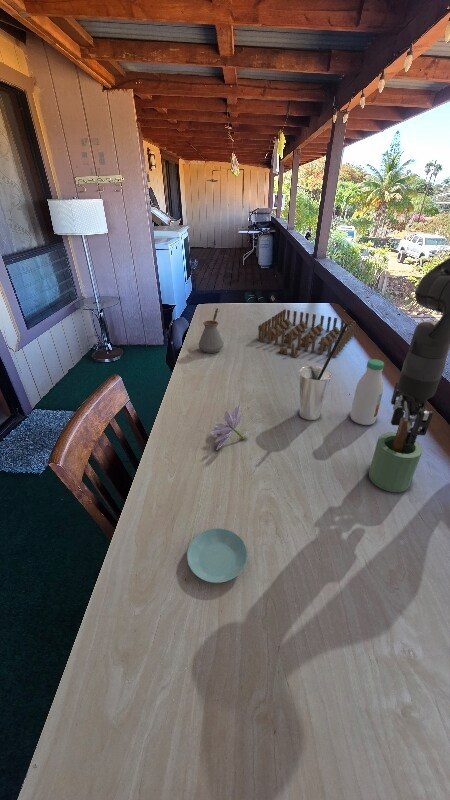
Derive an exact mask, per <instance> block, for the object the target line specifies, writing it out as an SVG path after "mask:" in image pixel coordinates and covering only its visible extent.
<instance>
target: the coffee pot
mask: <svg viewBox="0 0 450 800" xmlns="http://www.w3.org/2000/svg"><path fill="white" fill-rule="evenodd" d="M214 310H215V311H214V315H213V318H212V320H206V321H204V322H203V323H202V324H203V326H204V329H203V331H202V334H201V337H200V338H199V341H198V348H199V349H200V350H201V351H202V352H204V353H206V354H215V353H216V354H217V353H218V352H220V351H221V350H222V348H223V347H224V345H225V344H224V341H223V339H222V337H221V334H220V332H219V330H218V325H219V322H218V321H216V319H217V316H218V313H219V312H220V311H221V309H220V308H218V307H217V308H215V309H214Z"/></svg>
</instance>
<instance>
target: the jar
mask: <svg viewBox="0 0 450 800" xmlns="http://www.w3.org/2000/svg"><path fill="white" fill-rule="evenodd" d="M396 433H397V432H391V431H390V432H388V431H387V432H385V433H382V434H380V435H379V436H378V438H377V442H376V444H375V445H376V446H375V449H374V452H373V456H372V460H371V463H370V466H369V470H368V477H369V479H370V481H371V482H372V483H373V484H374V485H375V486H377V487H378V488H379V489H381V490H384V491H387V492H390V493H402V492H405V491H406V490H408V489H409V488H410V485H411V483H412V480H413V477H414V476H415V472H416V470H417V468H418V465H419V462H420V459H421V456H422V454H423V447H422V445H421V444H420V442H418V441H417V440H416V441H415V444H414V445H412V446H410V445H404V443H403V446H402V449H401V452H400V453H398V452H395V451H393V450H391V449H392V445H393V442H394V439H395V436H396Z"/></svg>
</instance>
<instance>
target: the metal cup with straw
mask: <svg viewBox="0 0 450 800" xmlns="http://www.w3.org/2000/svg"><path fill="white" fill-rule="evenodd" d="M348 324H349V323H346V322H344V326H343V329H342V331H341V333H340V334H338V337H337V338H336V340H337V341H336V343H335V342H334V344H335V345H334V344H333V346H332V348H331V353H330V355H329V356H327V358H326V361H325V362H324V364H323V366H319V365H305V366H302V367H300V368H299V369H298V375H299V416H300V417H301V418H302V419H304V420H308V421H315V420H318V419H320V414H321V412H322V408H323V404H324V401H325V398H326V394H327V391H328V387H329V384H330V381H331V379H332V378H333V372H332V371H331V370H330V369H328V368H327V367H328V365H329V363H330V362H331V359H332V358H333V353H334V351H335V349H336V347H337V346H338V344H339V342H340V340H341V338H342V336H343V334H344V332H345V330H347V327H348Z"/></svg>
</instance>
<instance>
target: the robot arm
mask: <svg viewBox="0 0 450 800" xmlns="http://www.w3.org/2000/svg"><path fill="white" fill-rule="evenodd" d="M414 296H415V297H414V299H415V301H416V303H417V304H418V305H419V306H420V307H422V308H425V309H428V310H431V311H435V312H437V313H441V314H442V315H441V317H440V318H439V320H425V321H421V322H419V323H418V324H417V325H416V326H415V327H414V332H413V334H412V337H411V340H410V344H409V348H408V351H407V353H406V356H405V357H404V360H403V364H402V366H401V367H402V368H401V371H400V374H399V378H398V381H397V382H396V383H395V386H394V389H393V392H392V397H391V400H390V404H391V405H393V406H392V410H393V413H392V417H391V420H390V424H391V426H399V423H400V420H401V417H405V421H406V422H407V431H406V435H405V438H404V441H403V443H404V445H410V446H412V445H414V444H415V441H417V438H418V436H426V434H427V431H428V429H429V426H430V423H431V421H432V419H433V416H434V413H433V411H432V410H427V409H426V408H427V401H428V400H429V399H431V398H433V397H434V396H435V395H436V392H437V390H438V387H439V384H440V381H441V379H442V377H443V373H444V370H445V367H446V362H447V358H448V355H449V352H450V257H448V258H446V259H445V260H443V261H442V262H440V263H439V264H437V265H436V266H435V267H433V268H431V269H430V270H429V271H428V272H427V273H426V274H424V276H423V277H422V278H421V279H420V280H419V282H418V284H417V286H416V288H415V292H414ZM397 398H398V399H397ZM412 417H414V418H412Z"/></svg>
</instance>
